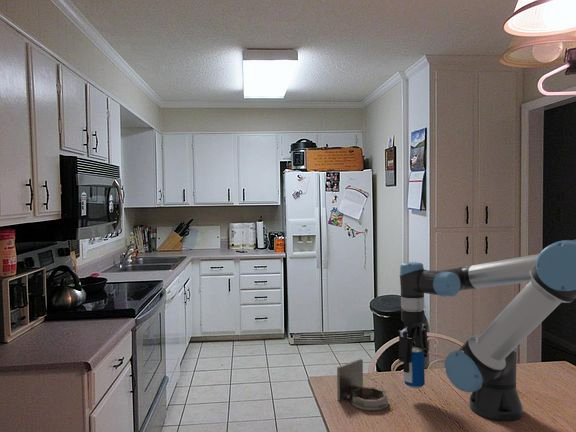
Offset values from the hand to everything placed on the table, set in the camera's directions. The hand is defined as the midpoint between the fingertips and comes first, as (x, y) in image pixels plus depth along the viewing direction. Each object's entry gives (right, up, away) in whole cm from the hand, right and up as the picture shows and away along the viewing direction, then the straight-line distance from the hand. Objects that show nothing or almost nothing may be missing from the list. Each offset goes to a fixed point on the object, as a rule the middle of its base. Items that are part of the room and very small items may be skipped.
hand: (414, 378), depth 150 cm
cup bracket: (-16, -7, -1) cm, 18 cm away
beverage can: (0, -2, 0) cm, 2 cm away
